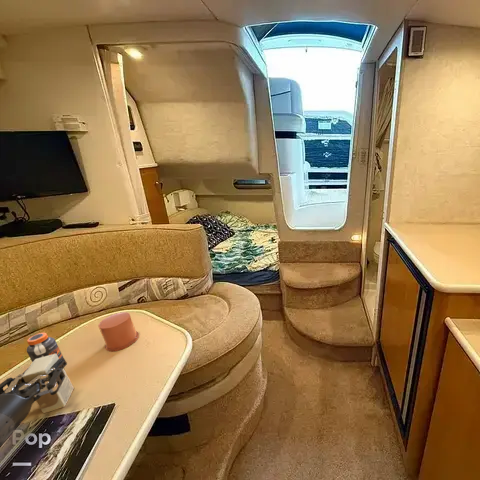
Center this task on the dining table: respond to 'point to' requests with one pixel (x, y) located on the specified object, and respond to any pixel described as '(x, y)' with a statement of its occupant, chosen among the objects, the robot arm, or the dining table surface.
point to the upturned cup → (118, 331)
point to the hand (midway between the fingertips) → (50, 363)
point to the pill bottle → (42, 346)
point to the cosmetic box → (42, 367)
